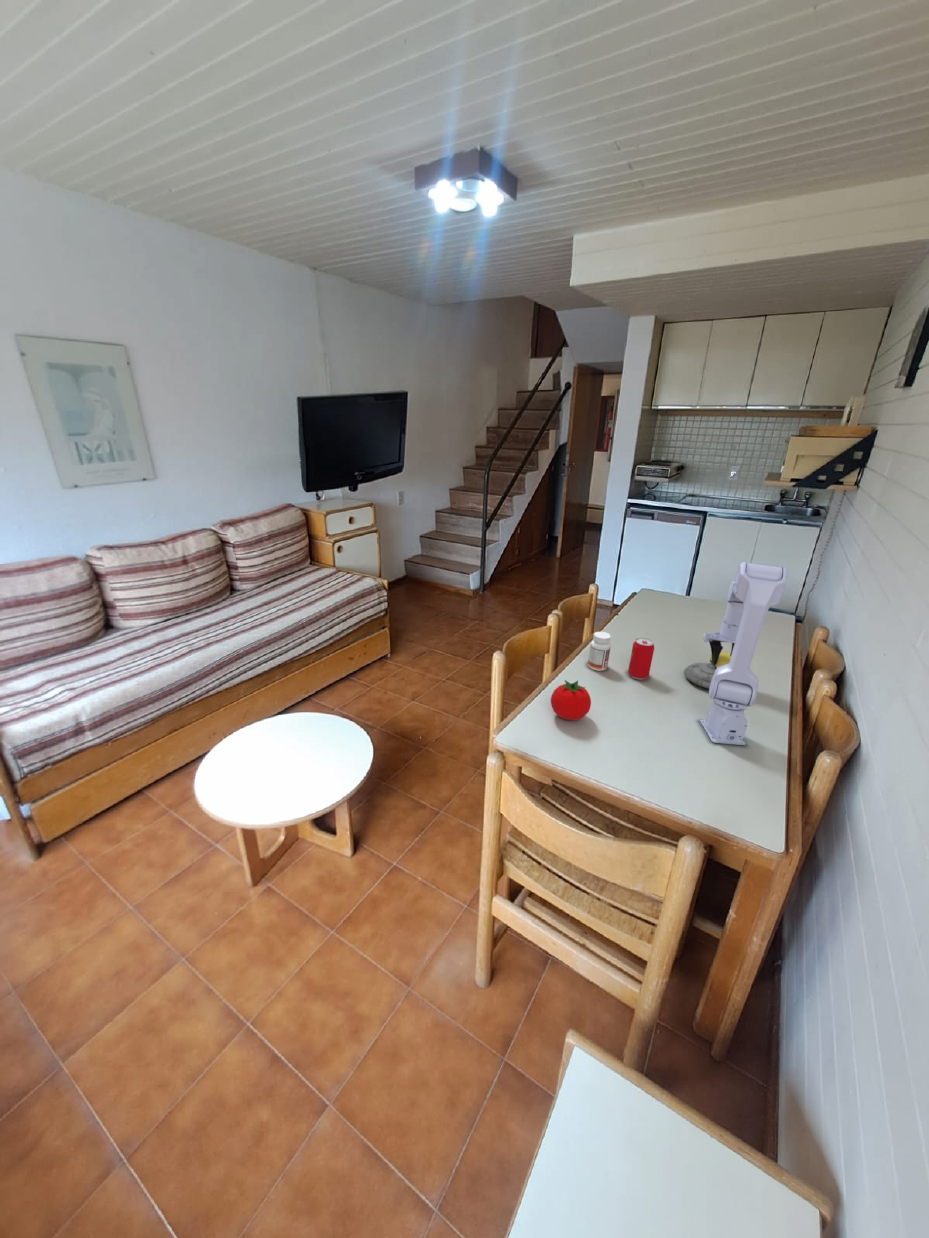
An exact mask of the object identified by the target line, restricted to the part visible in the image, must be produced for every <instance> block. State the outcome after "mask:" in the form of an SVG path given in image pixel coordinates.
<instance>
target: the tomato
mask: <svg viewBox="0 0 929 1238" xmlns="http://www.w3.org/2000/svg"><path fill="white" fill-rule="evenodd" d="M564 682H565V683H563V684H560V685H558V686H557V687H556V688H555V689H554V690H553V692H552V694H551V696H550V705H551V708H552V710H553V712H554V713H555V715H557V716H558V717H560V718H561V719H563V720H566V721H578V720H580V719H583V718H584V717H586V715H588V713H590V710H591V707H592V700H591V696H590V693H589V692H588V690H587V689H586V686H585V687H584V686H582V685H579V680H576V681H574V682H573V683H570V682H569V681H567V680H566V679H564Z"/></svg>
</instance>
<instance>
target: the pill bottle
mask: <svg viewBox="0 0 929 1238" xmlns="http://www.w3.org/2000/svg"><path fill="white" fill-rule="evenodd" d="M611 648H612V645H611V634H610V633H608V632H604V631H595V632H594V633H593V637H592V641H590V647H589V652H588V658H587V659H588V660H587V666H588V668H590V669H591V670H593V671H598V672H602V671H605V670H607V669H608V665H609V659H610V653H611Z"/></svg>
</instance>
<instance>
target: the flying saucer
mask: <svg viewBox="0 0 929 1238" xmlns="http://www.w3.org/2000/svg"><path fill="white" fill-rule="evenodd" d="M715 670H716V668H715V667H714V666H713V665H712V663H711V662H696V663H693V664H690V665H688V666H686V667H685V668H684V669H683V675H684V676H685V678H686V679H688V680H689V681H690V682H691V683H693V684H695V685H697V686H699V687H702V688H705V689H708V690H709V689H710V683H711V680H712V677H713V675H714V672H715Z"/></svg>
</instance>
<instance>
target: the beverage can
mask: <svg viewBox="0 0 929 1238" xmlns="http://www.w3.org/2000/svg"><path fill="white" fill-rule="evenodd" d="M654 652H655V644H654V641H653V640H652V639H650V638H647V637H636V638H635V640H634V641H633V643H632V648H631V653H630V657H629V663H628V669H627V673H628V675H629V676H630V677H632V678H633V679H635V680H645V679H648V678H649V676H650V671H651V667H652V662H653V657H654Z"/></svg>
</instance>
